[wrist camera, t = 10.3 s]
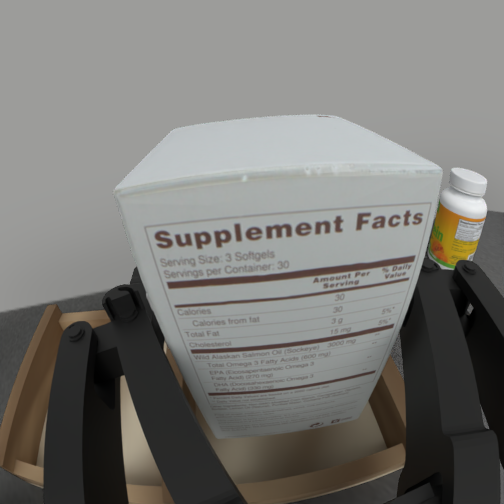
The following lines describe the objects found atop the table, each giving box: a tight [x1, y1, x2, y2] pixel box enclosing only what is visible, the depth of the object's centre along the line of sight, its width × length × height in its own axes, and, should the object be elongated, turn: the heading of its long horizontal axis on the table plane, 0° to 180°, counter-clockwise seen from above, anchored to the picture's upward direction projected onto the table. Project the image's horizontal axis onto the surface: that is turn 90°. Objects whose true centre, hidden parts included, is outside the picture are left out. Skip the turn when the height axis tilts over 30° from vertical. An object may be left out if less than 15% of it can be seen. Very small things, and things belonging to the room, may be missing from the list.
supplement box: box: [113, 115, 443, 439], centre depth 12 cm, size 7×7×13 cm
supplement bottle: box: [428, 168, 487, 270], centre depth 24 cm, size 5×5×10 cm
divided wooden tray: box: [0, 304, 406, 504], centre depth 15 cm, size 23×14×4 cm, turn 98°
